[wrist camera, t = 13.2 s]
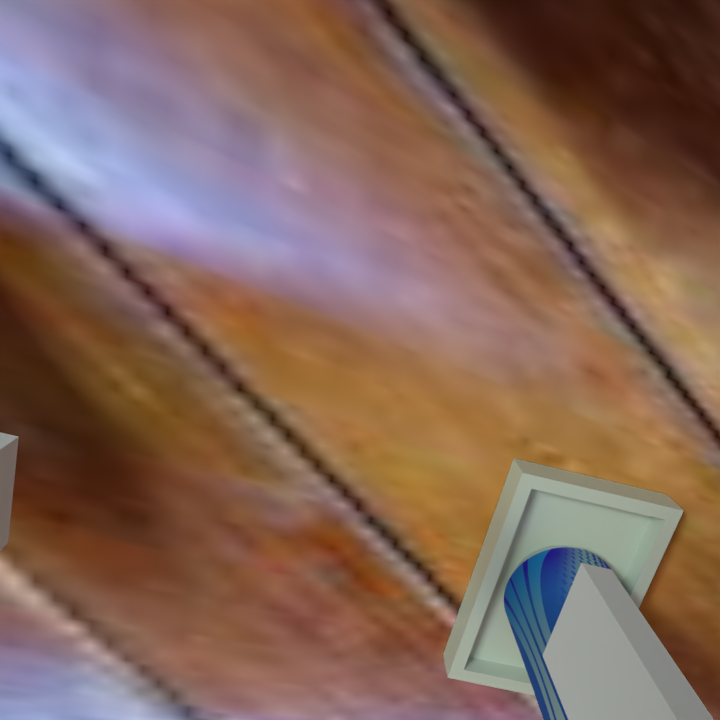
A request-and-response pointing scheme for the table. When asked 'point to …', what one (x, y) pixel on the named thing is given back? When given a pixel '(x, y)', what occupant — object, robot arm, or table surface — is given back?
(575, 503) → the tray
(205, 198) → the table surface
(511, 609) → the beer can
